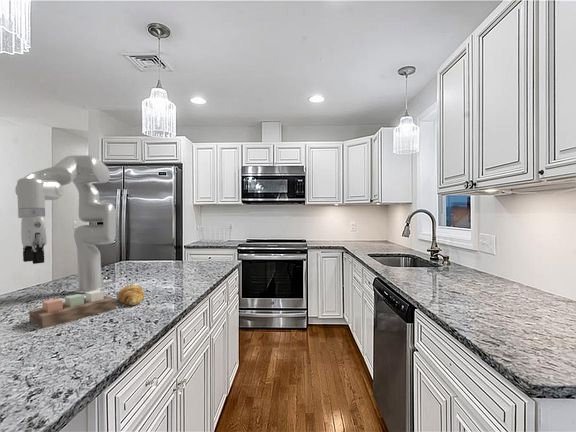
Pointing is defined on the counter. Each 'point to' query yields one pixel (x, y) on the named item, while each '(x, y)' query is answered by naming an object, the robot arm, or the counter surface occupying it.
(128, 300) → the croissant
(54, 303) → the terracotta key
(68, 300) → the sage key
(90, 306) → the wooden compartment tray
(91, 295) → the cream cube
